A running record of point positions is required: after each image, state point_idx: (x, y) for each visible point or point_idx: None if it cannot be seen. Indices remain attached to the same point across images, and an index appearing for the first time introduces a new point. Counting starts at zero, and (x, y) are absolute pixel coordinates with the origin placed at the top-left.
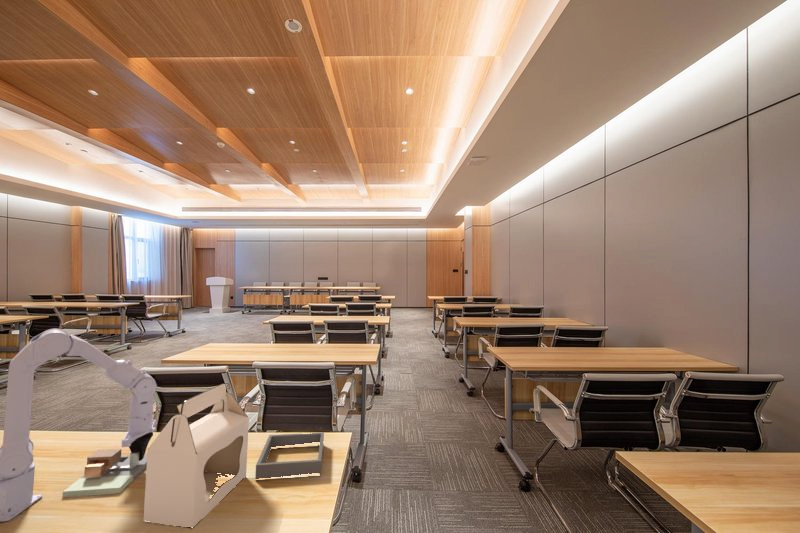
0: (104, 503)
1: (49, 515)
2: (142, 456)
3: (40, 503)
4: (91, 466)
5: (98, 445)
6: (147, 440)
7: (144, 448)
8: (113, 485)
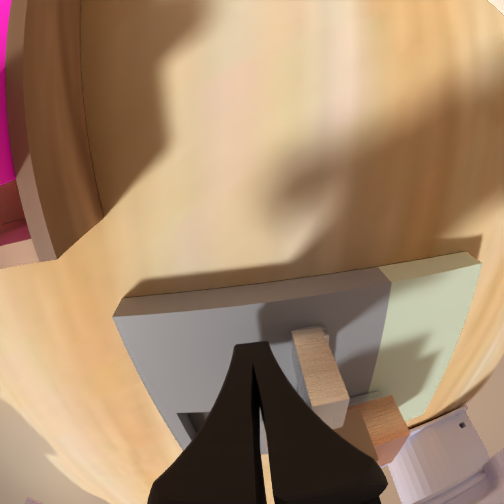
0: (500, 259)
1: (485, 357)
2: (264, 357)
3: (421, 416)
4: (398, 452)
5: (112, 474)
6: (283, 468)
7: (267, 404)
8: (458, 303)
